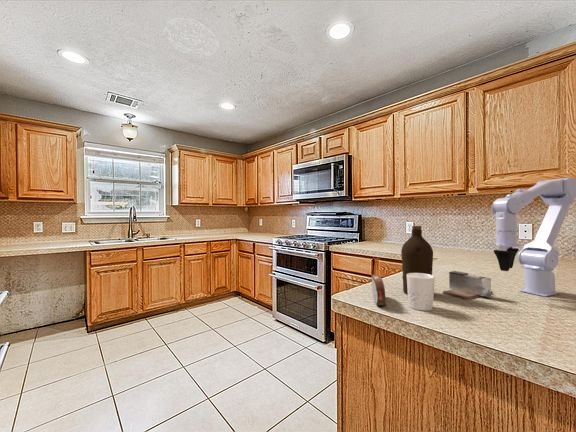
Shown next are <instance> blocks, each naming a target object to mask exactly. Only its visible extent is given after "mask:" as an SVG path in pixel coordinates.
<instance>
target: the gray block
mask: <svg viewBox="0 0 576 432" xmlns="http://www.w3.org/2000/svg"><path fill="white" fill-rule="evenodd" d="M448 273H449V275H448V277H449V279H448V280H449V281H448V283H449V285H448V286H449V287H448V290H458V291H462V292H467V293H471V294H476V295H480V297H487V298H489V297H491V296H492V294H491V291H492V278H491V277H486V276H481V275H475V274H469V273H468V272H463V271H457V270H453V271H449V272H448Z"/></svg>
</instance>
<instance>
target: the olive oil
mask: <svg viewBox="0 0 576 432" xmlns="http://www.w3.org/2000/svg"><path fill="white" fill-rule="evenodd" d="M411 228H412V229H411V237H409V239H407V240H406V241H405V242H404V243H403V244H402V246H401V251H400V253H401V254H400V255H401V266H402V267H401V268H402V269H401V270H402V286H403V288H402V290H403V291H402V292H403V293H404V294H406V295H408V291H407V274H408V273H424V274H429V275H433V267H434V266H433V263H434V262H433V260H434V251H433V247H432V245H431V244H430V243H429V242H428V241H427V240H426V239H425V238H424V237H423V235H422V234H423V233H422V232H423V230H422V225H411Z"/></svg>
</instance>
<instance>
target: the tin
mask: <svg viewBox="0 0 576 432" xmlns="http://www.w3.org/2000/svg"><path fill="white" fill-rule="evenodd" d="M370 279H371V285H372V286H371V287H372V288H371V291H372V296H373V297H372V298H373V301H374V302H375V305H376V306H379V307H380V306H381V307H382V306H383V307H385V306H386V305H387V304H386V299H387V297H386V290H385V284H384V280H383V278H382V277H381V275H380V274H371V278H370Z"/></svg>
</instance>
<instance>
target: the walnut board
mask: <svg viewBox="0 0 576 432" xmlns="http://www.w3.org/2000/svg"><path fill="white" fill-rule="evenodd" d="M442 294H443V295H448V296H451V297H455V298H459V299H462V300H470V299H474V298H479V297H481V296H480V295H476V294H471V293H467V292H462V291H458V290H453V289H448V290H444V291H443V290H442ZM492 294H493V291H492V290H491V295H492Z"/></svg>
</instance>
